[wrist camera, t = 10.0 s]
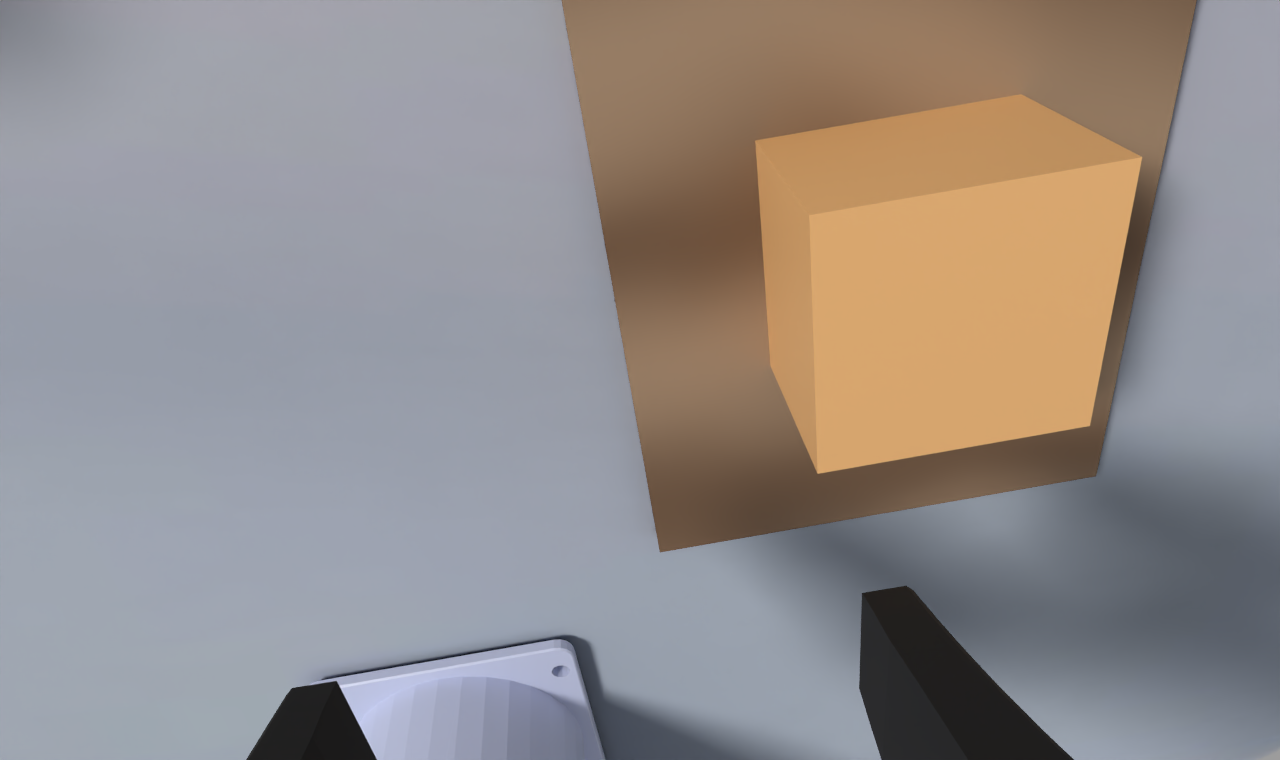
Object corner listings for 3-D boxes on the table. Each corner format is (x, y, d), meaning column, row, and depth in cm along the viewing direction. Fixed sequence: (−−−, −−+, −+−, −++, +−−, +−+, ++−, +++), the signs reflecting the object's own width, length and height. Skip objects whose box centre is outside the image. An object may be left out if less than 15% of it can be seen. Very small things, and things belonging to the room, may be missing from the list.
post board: (1086, 464, 23) (1152, 541, 20) (657, 539, 23) (672, 625, 20) (1230, -257, 14) (1378, -279, 12) (536, -139, 14) (535, -137, 12)
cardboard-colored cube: (996, 326, 20) (1089, 425, 16) (770, 365, 20) (817, 473, 16) (1021, 94, 17) (1142, 156, 13) (755, 140, 17) (808, 214, 13)
